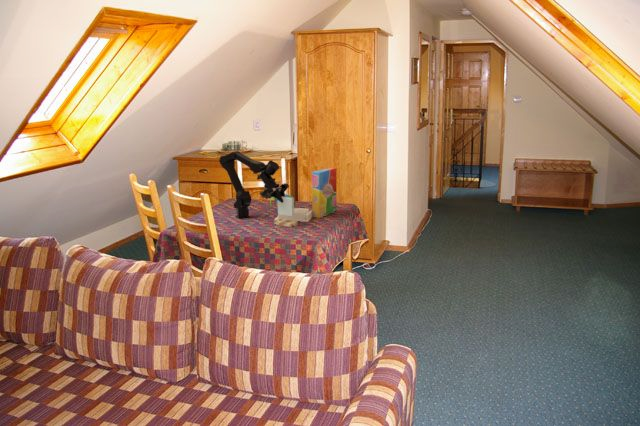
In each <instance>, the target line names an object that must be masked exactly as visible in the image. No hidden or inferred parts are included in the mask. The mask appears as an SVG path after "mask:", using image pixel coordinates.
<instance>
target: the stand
mask: <svg viewBox="0 0 640 426" xmlns="http://www.w3.org/2000/svg"><path fill="white" fill-rule="evenodd" d="M273 222H274V225H275V224H276V226H281V227H282V226H283V227H286V228H287V227H288V228H293V226H294V227H296V226H298V225H299V223H298V221H291V220H285V219H279V221H278V220H276V221H275V220H274V221H273Z"/></svg>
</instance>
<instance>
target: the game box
mask: <svg viewBox="0 0 640 426" xmlns="http://www.w3.org/2000/svg"><path fill="white" fill-rule="evenodd" d="M311 197H312V198H311V204H312V205H311V210H312V218H315V217H316V219H317V218H318V219H320V218H323V216H324V217H325V216H328V214H329V215H330V213H331V214H333V212H334V213H336V212H337V206H338V205H337V203H338V202H337V201H338V200H337V199H338V198H337V168H336V167H327V168H323V169H319V170H314V171H312V172H311ZM335 211H336V212H335Z"/></svg>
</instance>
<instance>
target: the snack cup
mask: <svg viewBox="0 0 640 426" xmlns="http://www.w3.org/2000/svg"><path fill="white" fill-rule="evenodd" d="M285 197H290V198H294V207H296V199H295V197H294V196H292V195H291V194H286V193H285ZM273 199H274V201H275V202H274V203H275V208H276V212H277V213H278V200H277V199H276V198H274V197H271V198H270V200H269V204H270V208H272V205H273V204H272V201H273Z"/></svg>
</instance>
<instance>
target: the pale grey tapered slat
mask: <svg viewBox="0 0 640 426" xmlns="http://www.w3.org/2000/svg"><path fill="white" fill-rule="evenodd" d="M281 197H282V199H283V203H282V202H280V201H279V200H278V212H277V215H278V214H282V215H288V216H294V208H295V206H294V199H295V197H294V198H290V197H283V196H281Z"/></svg>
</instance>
